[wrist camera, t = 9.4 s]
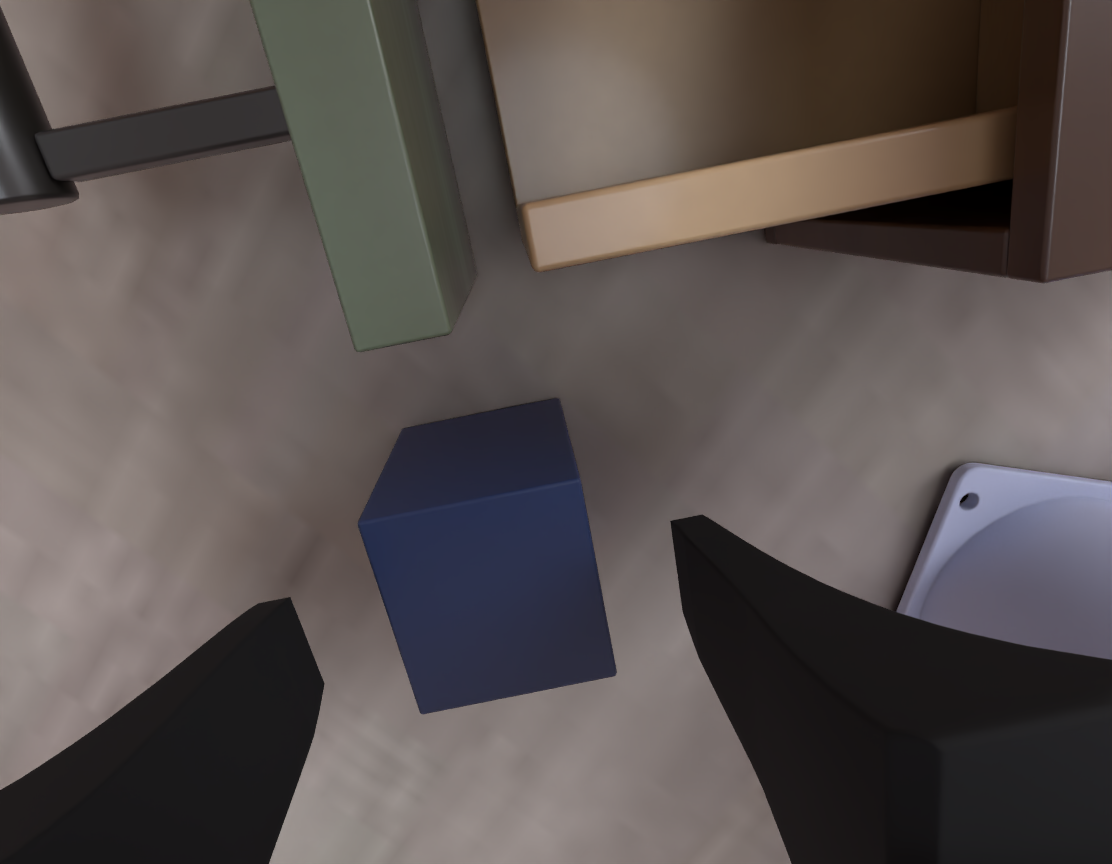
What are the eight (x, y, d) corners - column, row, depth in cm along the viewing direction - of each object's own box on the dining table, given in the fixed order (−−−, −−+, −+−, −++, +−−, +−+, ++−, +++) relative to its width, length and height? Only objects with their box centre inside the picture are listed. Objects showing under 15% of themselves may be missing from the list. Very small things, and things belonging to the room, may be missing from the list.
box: (559, 396, 16) (580, 478, 11) (588, 548, 17) (618, 676, 13) (401, 427, 16) (355, 523, 11) (444, 576, 17) (420, 716, 13)
